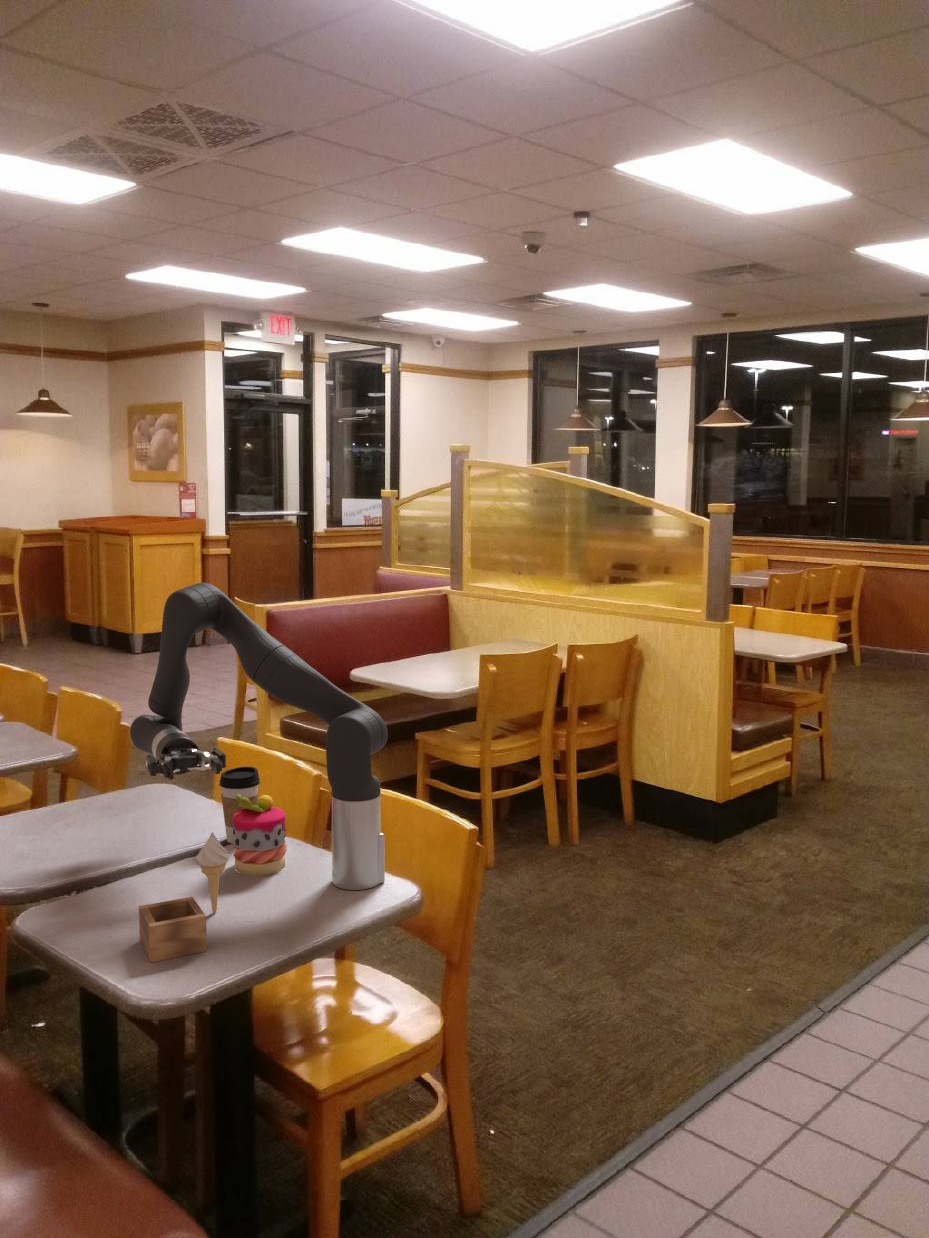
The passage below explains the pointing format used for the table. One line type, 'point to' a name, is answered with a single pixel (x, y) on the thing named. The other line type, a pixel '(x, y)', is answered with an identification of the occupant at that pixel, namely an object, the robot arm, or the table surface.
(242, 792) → the coffee cup
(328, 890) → the table surface
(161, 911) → the cone holder
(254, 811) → the cake
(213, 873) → the ice cream cone
